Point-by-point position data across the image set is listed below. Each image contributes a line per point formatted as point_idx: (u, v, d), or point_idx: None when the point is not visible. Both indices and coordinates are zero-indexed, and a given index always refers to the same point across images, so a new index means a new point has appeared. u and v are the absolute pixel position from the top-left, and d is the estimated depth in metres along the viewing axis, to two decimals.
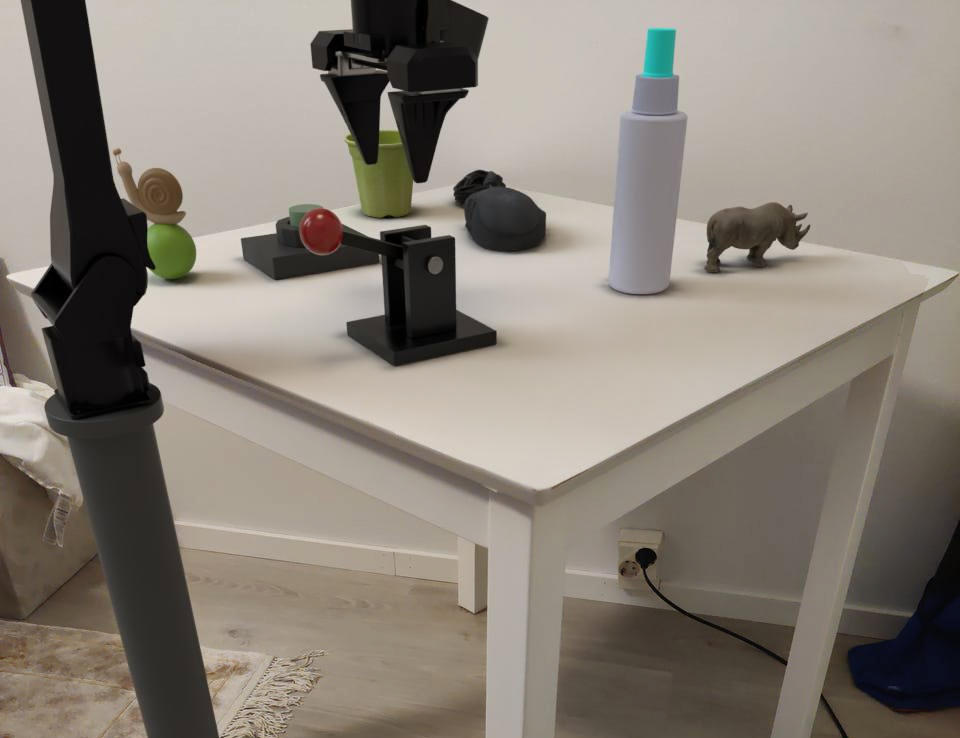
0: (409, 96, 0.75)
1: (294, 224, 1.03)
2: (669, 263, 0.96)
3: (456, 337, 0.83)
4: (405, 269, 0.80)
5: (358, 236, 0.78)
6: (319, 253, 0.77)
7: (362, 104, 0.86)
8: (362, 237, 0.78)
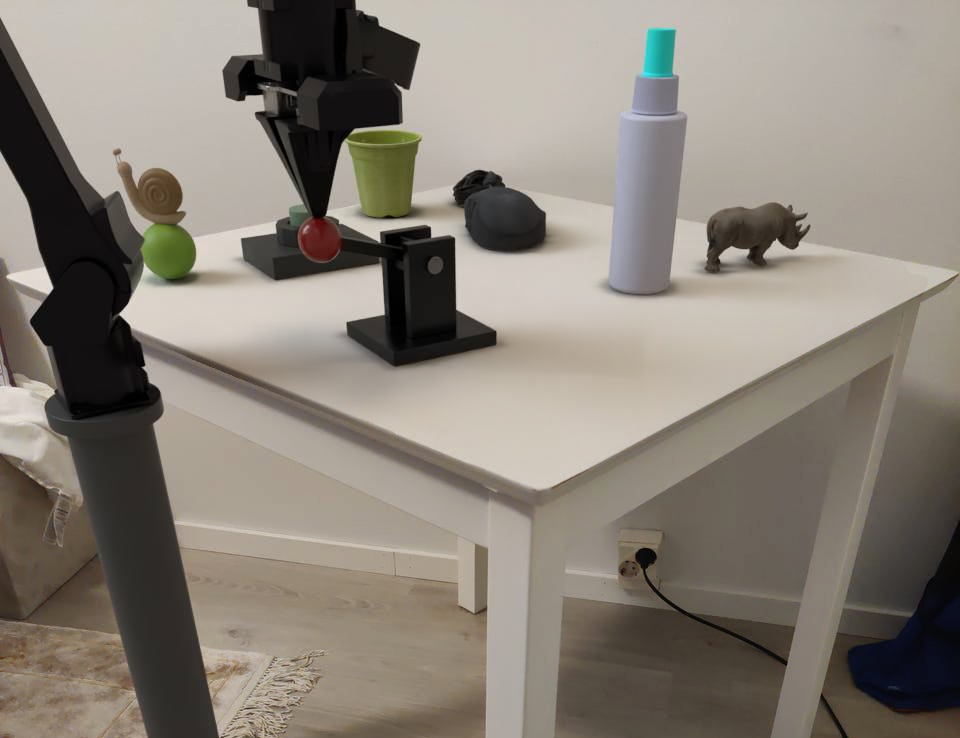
0: (296, 125, 0.68)
1: (294, 224, 1.03)
2: (669, 263, 0.96)
3: (456, 337, 0.83)
4: (405, 269, 0.80)
5: (357, 241, 0.78)
6: (319, 261, 0.77)
7: None
8: (361, 242, 0.78)
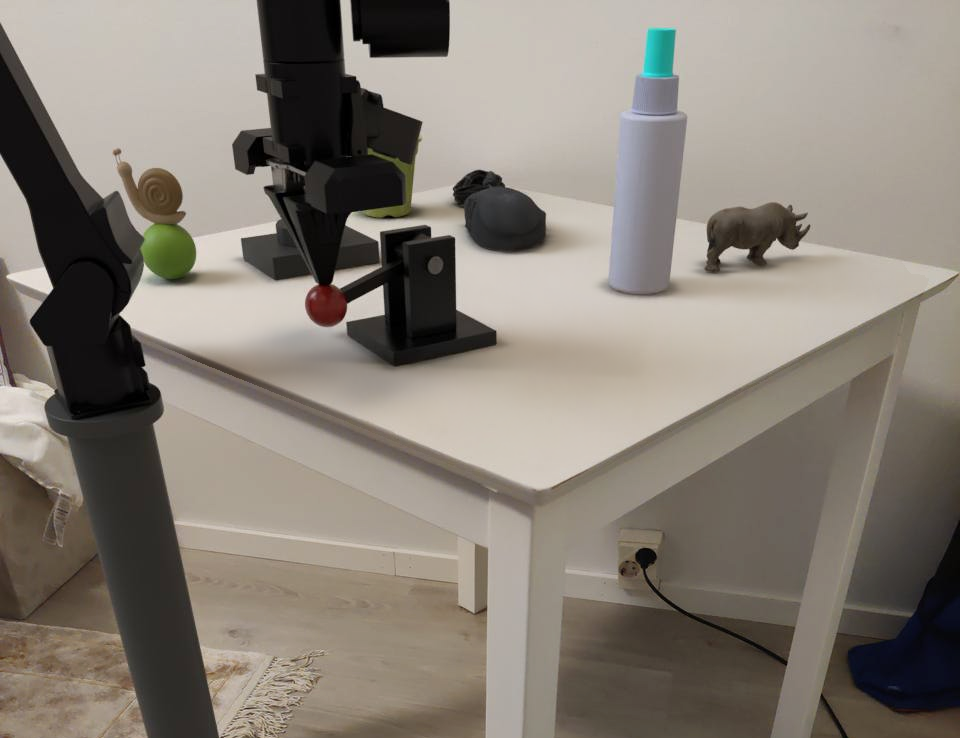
0: (303, 204, 0.71)
1: None
2: (669, 263, 0.96)
3: (456, 337, 0.83)
4: (405, 269, 0.80)
5: (357, 286, 0.80)
6: None
7: None
8: (361, 284, 0.80)
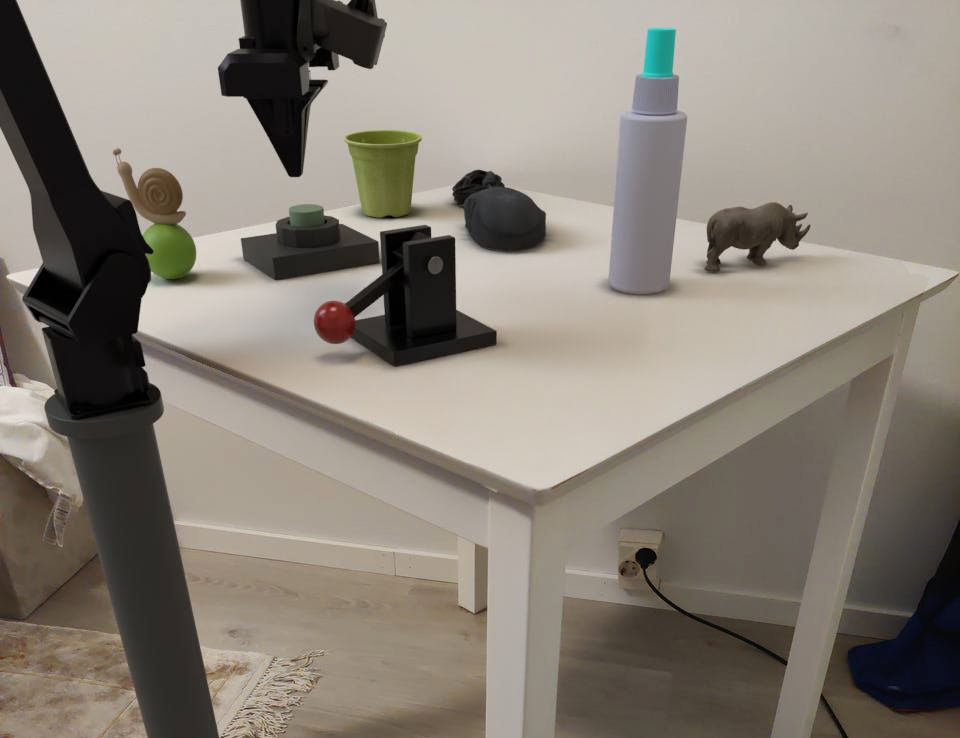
0: None
1: (294, 224, 1.03)
2: (669, 263, 0.96)
3: (456, 337, 0.83)
4: (405, 269, 0.80)
5: (362, 298, 0.81)
6: (346, 340, 0.82)
7: None
8: (365, 295, 0.81)
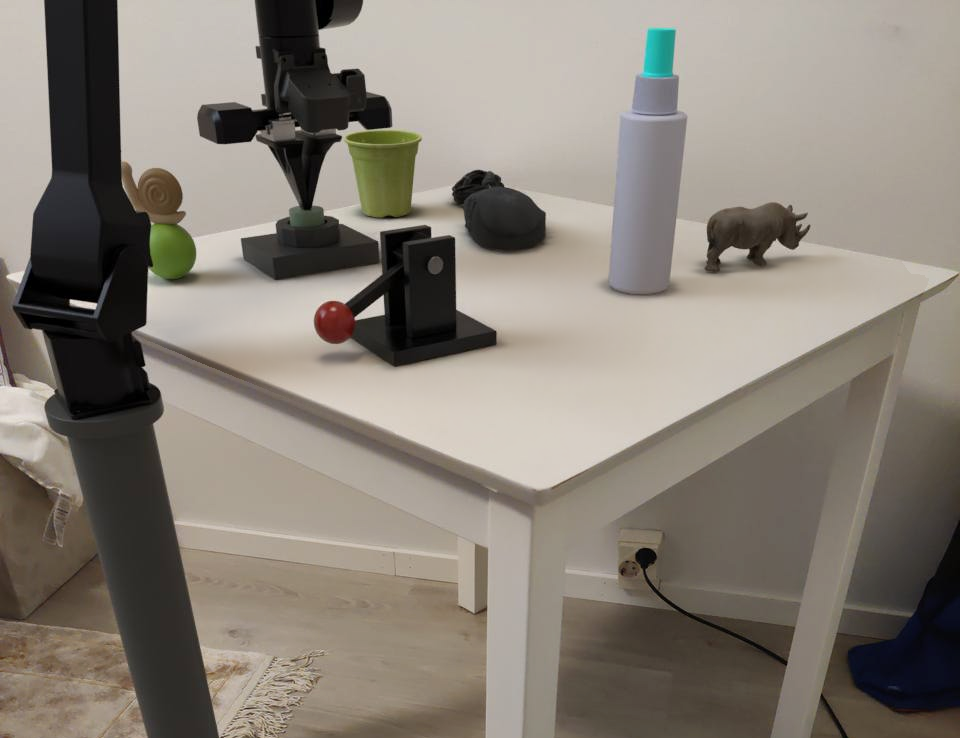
0: (256, 135, 0.99)
1: (294, 225, 1.03)
2: (669, 263, 0.96)
3: (456, 337, 0.83)
4: (405, 269, 0.80)
5: (362, 298, 0.81)
6: (346, 340, 0.82)
7: (303, 158, 1.01)
8: (365, 295, 0.81)
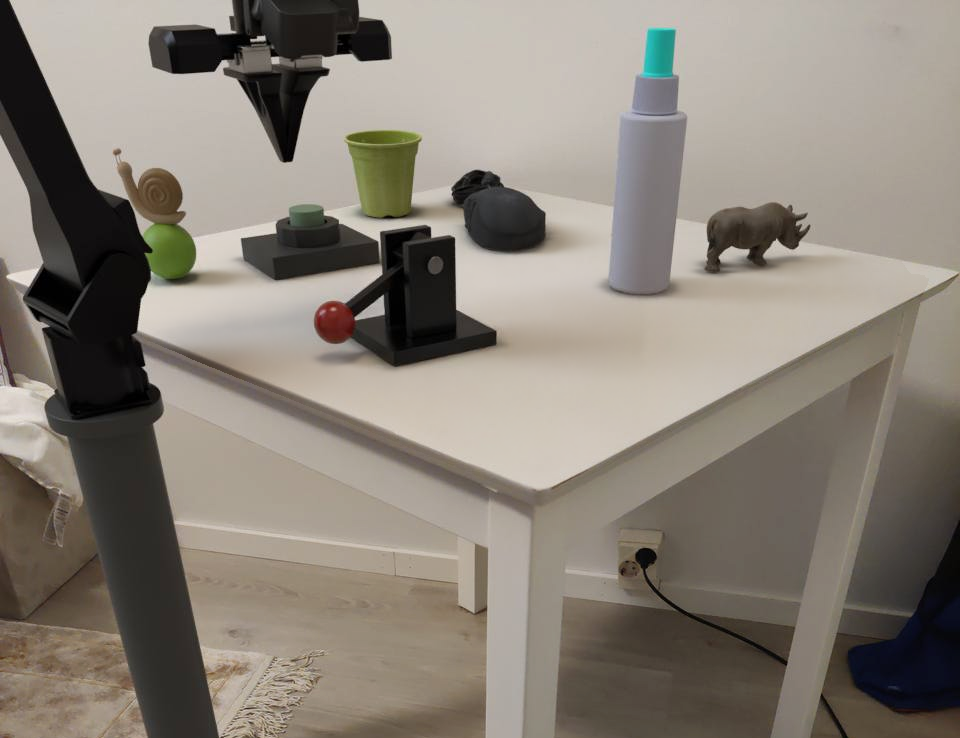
0: (224, 68, 0.80)
1: (294, 224, 1.03)
2: (669, 263, 0.96)
3: (456, 337, 0.83)
4: (405, 269, 0.80)
5: (362, 298, 0.81)
6: (346, 340, 0.82)
7: (283, 98, 0.82)
8: (365, 295, 0.81)
